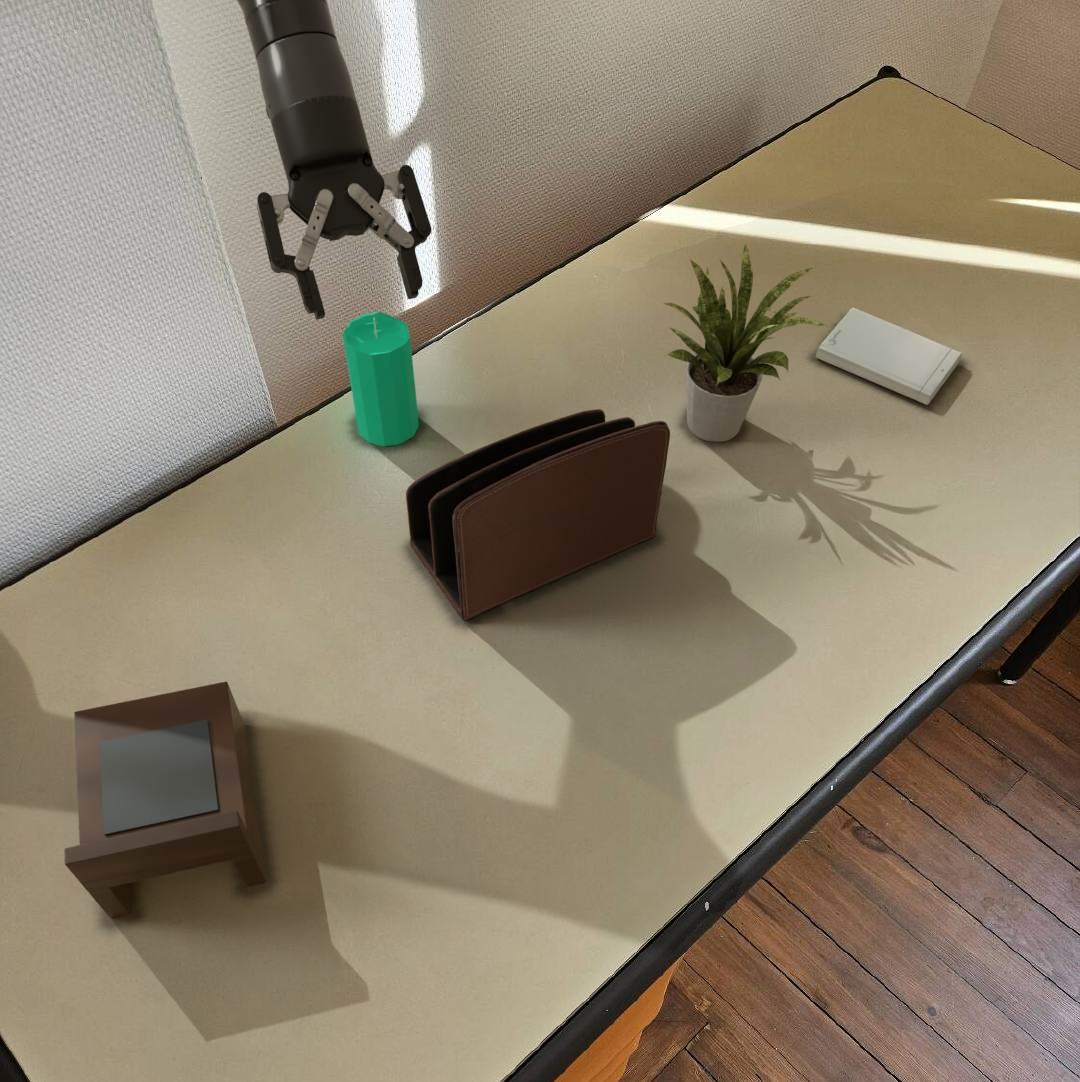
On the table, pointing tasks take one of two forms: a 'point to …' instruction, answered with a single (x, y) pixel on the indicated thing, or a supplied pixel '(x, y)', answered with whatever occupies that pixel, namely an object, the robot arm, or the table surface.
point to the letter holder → (537, 506)
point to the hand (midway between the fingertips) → (367, 307)
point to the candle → (381, 378)
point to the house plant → (731, 351)
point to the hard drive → (889, 355)
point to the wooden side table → (162, 792)
